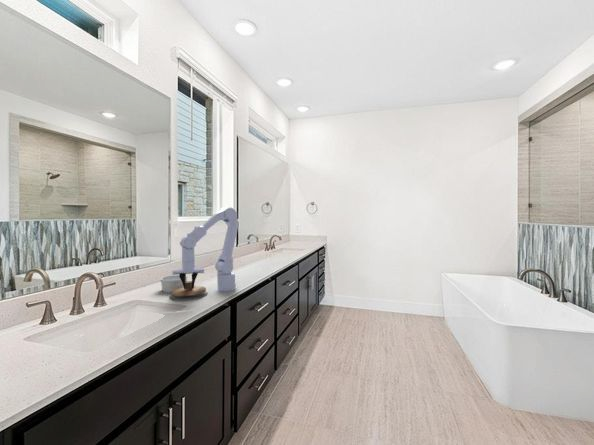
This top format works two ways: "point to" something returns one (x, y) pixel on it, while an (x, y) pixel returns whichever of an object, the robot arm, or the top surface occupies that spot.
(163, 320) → the top surface
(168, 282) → the ramekin
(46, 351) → the top surface
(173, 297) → the mat
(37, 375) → the top surface
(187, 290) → the lid
